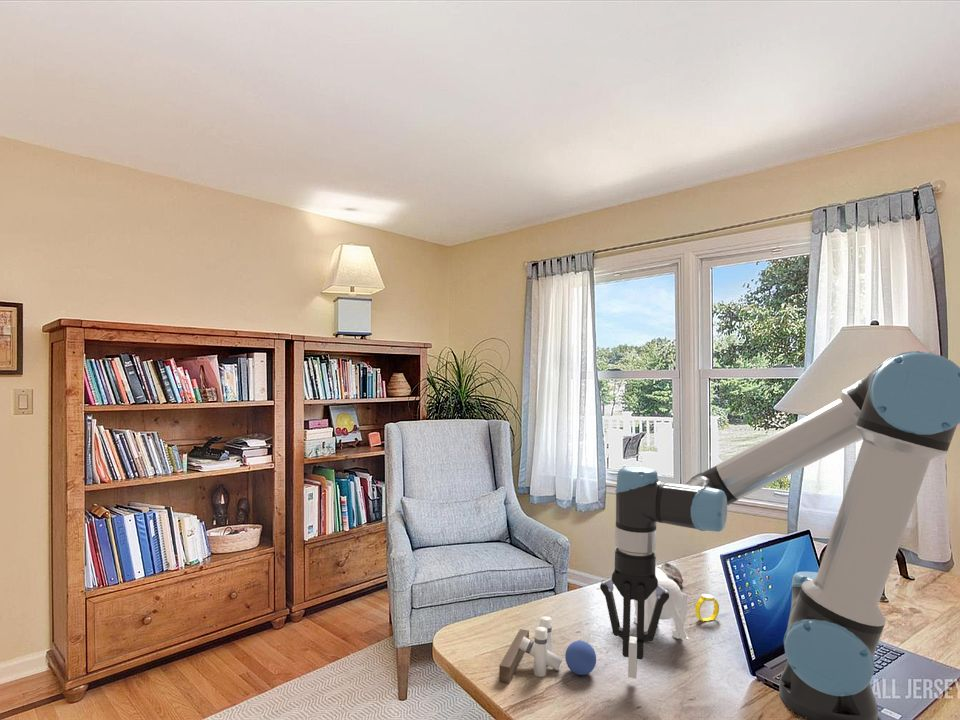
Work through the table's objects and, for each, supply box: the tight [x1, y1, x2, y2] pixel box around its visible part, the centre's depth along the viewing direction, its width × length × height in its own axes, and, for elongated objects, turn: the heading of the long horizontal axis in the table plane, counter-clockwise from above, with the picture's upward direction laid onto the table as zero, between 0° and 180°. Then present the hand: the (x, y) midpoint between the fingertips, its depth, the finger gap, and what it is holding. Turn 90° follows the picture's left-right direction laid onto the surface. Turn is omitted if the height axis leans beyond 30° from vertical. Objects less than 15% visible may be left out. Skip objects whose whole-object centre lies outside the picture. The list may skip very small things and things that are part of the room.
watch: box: [694, 593, 720, 623], centre depth 136 cm, size 6×3×6 cm, turn 108°
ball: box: [564, 640, 597, 676], centre depth 111 cm, size 6×6×6 cm
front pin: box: [519, 637, 563, 672], centre depth 113 cm, size 2×2×8 cm
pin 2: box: [533, 626, 547, 678], centre depth 111 cm, size 2×2×8 cm
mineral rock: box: [657, 562, 684, 589], centre depth 158 cm, size 15×8×4 cm, turn 140°
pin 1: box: [538, 615, 553, 652], centre depth 115 cm, size 2×2×8 cm
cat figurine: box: [633, 562, 690, 641], centre depth 129 cm, size 25×10×17 cm, turn 15°
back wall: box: [498, 628, 530, 684], centre depth 115 cm, size 2×16×3 cm, turn 162°
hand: (632, 674), depth 108 cm, fingers closed
